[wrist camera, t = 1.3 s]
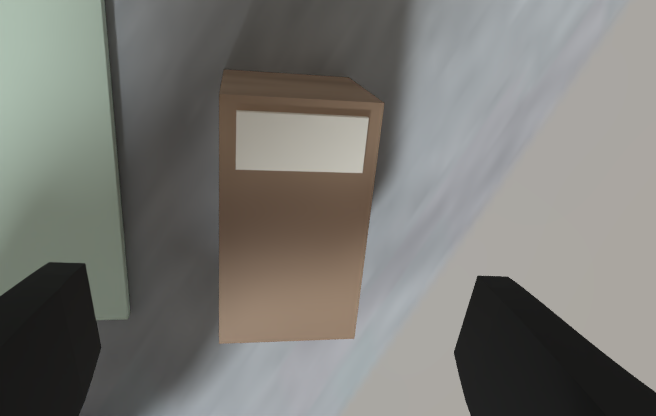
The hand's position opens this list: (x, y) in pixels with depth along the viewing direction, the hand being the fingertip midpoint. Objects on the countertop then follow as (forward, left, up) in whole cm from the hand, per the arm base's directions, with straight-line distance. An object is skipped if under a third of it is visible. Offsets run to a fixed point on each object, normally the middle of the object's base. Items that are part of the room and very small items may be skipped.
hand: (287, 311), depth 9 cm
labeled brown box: (-1, -1, -11) cm, 11 cm away
